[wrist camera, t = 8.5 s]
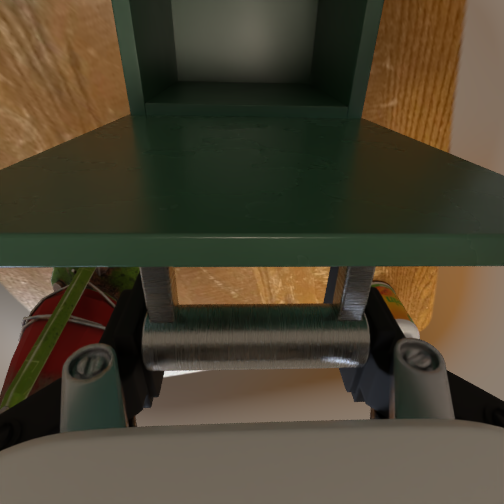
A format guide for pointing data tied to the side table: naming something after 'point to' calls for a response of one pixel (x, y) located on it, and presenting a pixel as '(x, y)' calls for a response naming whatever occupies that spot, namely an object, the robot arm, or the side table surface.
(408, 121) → the side table surface
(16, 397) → the lantern
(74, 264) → the bin lid
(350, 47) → the bin
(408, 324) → the supplement bottle
